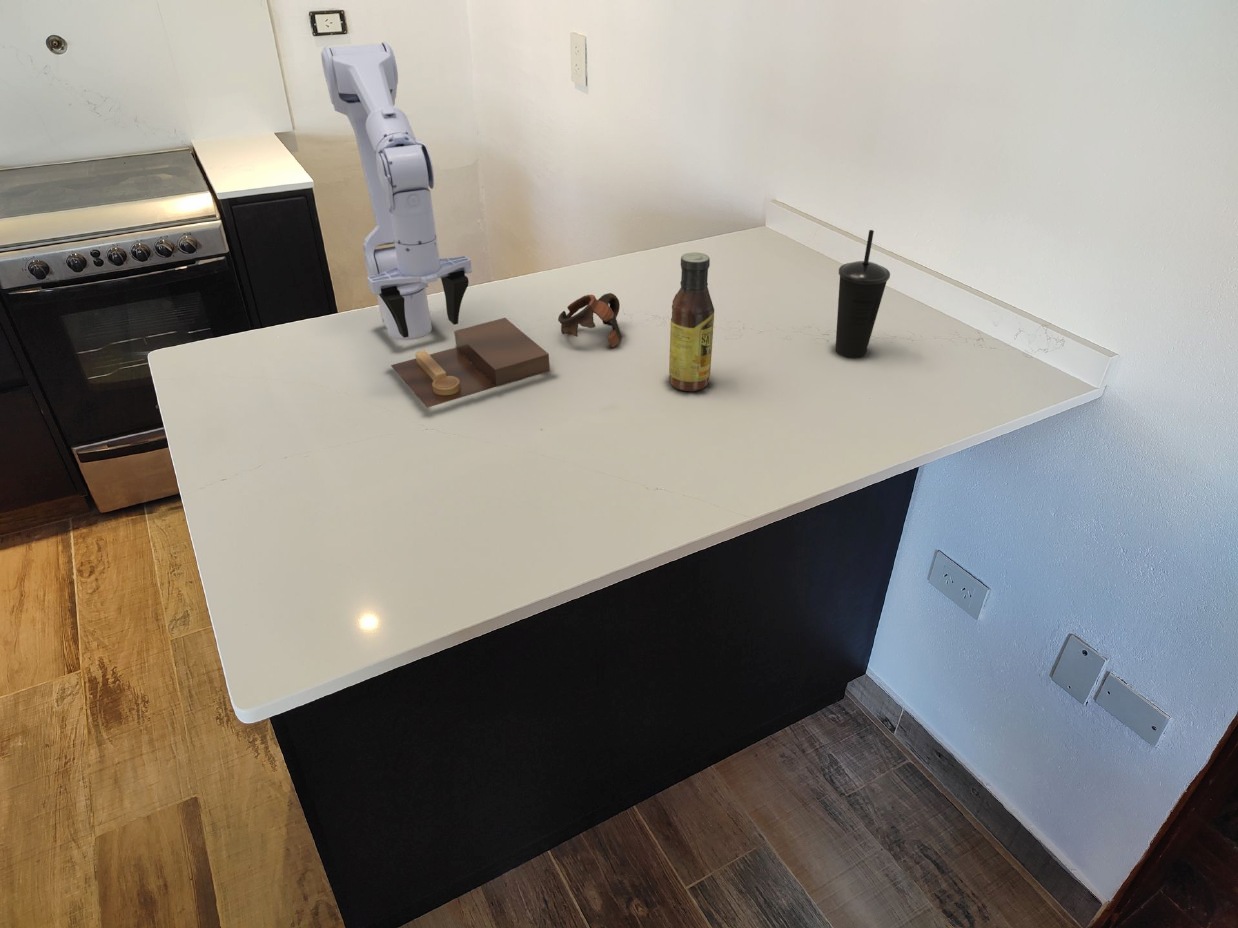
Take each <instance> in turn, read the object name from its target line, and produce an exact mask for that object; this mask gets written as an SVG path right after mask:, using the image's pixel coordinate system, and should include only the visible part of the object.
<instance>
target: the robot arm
mask: <svg viewBox="0 0 1238 928" xmlns="http://www.w3.org/2000/svg"><path fill="white" fill-rule="evenodd" d="M320 56H321V65H322V68H323V69H322V70H323V75H324V78H325V82H326V86H327V91H328V94H329V99H330V102H331V104H332V105H333V109H334V111H335V112H337V113H340V114H342V115H345V116H346V117H347V119H348V121H349V123H350V125H351V127H352V129H353V132H354V133H353V134H354V136H355V140H356V145H357V149H358V153H359V158H360V162H361V166H362V167H361V168H362V171H363V175H364V180H365V184H366V188H367V192H368V197H369V200H370V206H371V210H372V215H373V218H374V222H375V223H374V224H375V227H374V228H373V229H372V230H371V231H370V233H368V235H367V236H366V237H365V238H364V239H363V244H362V250H363V255H364V265H365V268H366V273H367V278H366V279H367V284H368V290H369V291H370V293H371V294H372V295H373V296H377V302H378V309H379V313H380V319H381V324H382V325H383V326H384V327H385V328H386V329H387V334H388V336H389V337H390V338H393V339H395V340H401V341H411V340H416V339H421V338H423V337H425V336H427V335H428V334H430V333H431V331H432V329H433V327H432V322H431V321H432V320H431V315H430V307H429V300H428V299H429V298H428V293H427V288H429V284H430V283H434V282H437V281H438V279H440V280H441V284H442V288H443V292H444V297H445V306H446V315H447V320H448V321H449V322H450V323H451V324H452V325H458V324H459V319H460V318H459V317H460V311H461V305H462V301H463V298H464V295H465V293H466V290H467V289H468V287H469V277H468V276H466V274H471V273H472V272H473V270H472V260H471V259H470V258H469V257H467V256H466V255H460V256H454V257H443V258H442V257H441V258H440V252H439V245H438V237H437V230H436V222H435V215H434V214H435V213H434V208H433V207H434V206H433V201H432V193H431V192H432V191H431V190H433V189H434V187H435V174H434V167H433V161H432V158H431V155H430V152H429V150H428V147H427V145H426V143H425V142H423V141H422V140H421V139H417V138H416V136H415V133H414V131H413V129H412V126H411V124H410V121H409V120H408V117H407V115H406V113H405V112H404V111H403V110H402V109H400V108H399V107H397V106H395V103H396V99H397V91H398V83H399V74H398V73H399V72H398V66H397V61H396V57H395V53H394V50H393V48H392V46H391V45H389V43H387V42H386V41H383V42H381V43H374V44H360V45H347V46H345V45H344V46H333V47H329V46H328V45H327V46H323V49H322V50H321V52H320ZM387 245H388V247H382V246H387ZM389 245H394V246H389ZM377 247H381V248H377Z"/></svg>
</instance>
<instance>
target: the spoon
mask: <svg viewBox="0 0 1238 928" xmlns="http://www.w3.org/2000/svg"><path fill="white" fill-rule="evenodd" d="M414 354H415V358H416V361H417V363H418V364H419V365H420V367H421V368H422V369H423V370H424V371H425V372H426V373H427V374H428V375H429V376H430V378H431V379H432V380H433V383H432V386H433V391H434V393H436V394H438V395H443V396H446V395H452V394H455V393H457V392H458V391H459V390H460V381H459V379H458V378H456V377H454V376H446V372H445V371H444V370H443V369H442V368H441V367H440V366H439V365H438V364H437V363H436V362H435V360H434V359H433V358H432V357H431V356H430V354H429V353H428V352H427V351H426V350H424V349H423V350H420V351H416V352H415V353H414Z"/></svg>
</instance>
